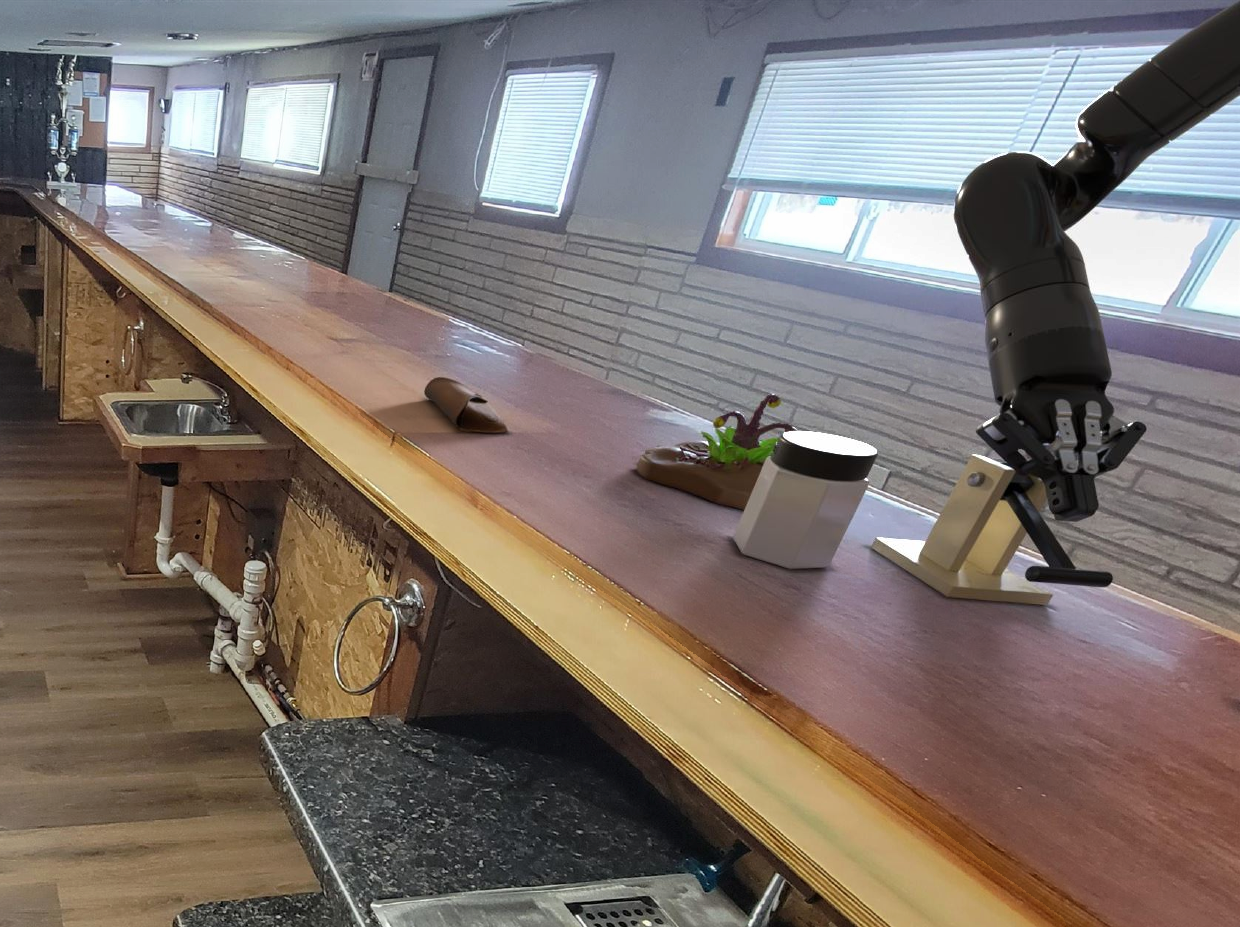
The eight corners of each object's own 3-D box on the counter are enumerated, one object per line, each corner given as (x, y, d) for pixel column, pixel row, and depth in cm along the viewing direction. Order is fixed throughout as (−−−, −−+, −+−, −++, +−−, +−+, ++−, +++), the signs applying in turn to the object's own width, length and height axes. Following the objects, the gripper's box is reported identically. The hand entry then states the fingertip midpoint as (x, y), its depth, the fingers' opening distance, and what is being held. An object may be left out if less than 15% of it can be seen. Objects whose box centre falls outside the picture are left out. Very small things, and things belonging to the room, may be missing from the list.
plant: (860, 500, 110) (904, 410, 104) (764, 522, 102) (806, 426, 97) (705, 452, 125) (736, 371, 120) (611, 467, 118) (640, 381, 112)
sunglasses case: (514, 431, 129) (500, 389, 126) (465, 453, 130) (451, 413, 128) (474, 398, 144) (461, 361, 141) (432, 418, 146) (418, 382, 143)
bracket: (1047, 605, 86) (1121, 489, 80) (947, 597, 87) (1013, 481, 81) (958, 554, 96) (1018, 448, 90) (870, 547, 97) (924, 441, 91)
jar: (783, 536, 99) (832, 430, 93) (847, 568, 92) (904, 455, 86) (712, 538, 97) (756, 430, 91) (771, 571, 90) (824, 456, 84)
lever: (1097, 594, 80) (1121, 577, 78) (1024, 588, 80) (1047, 571, 78) (1022, 483, 88) (1042, 464, 86) (957, 478, 88) (976, 460, 86)
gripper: (1004, 319, 81) (1036, 494, 76) (1163, 327, 80) (1205, 506, 75) (935, 365, 88) (960, 528, 83) (1080, 374, 87) (1113, 539, 82)
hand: (1076, 517), depth 79 cm, fingers closed
